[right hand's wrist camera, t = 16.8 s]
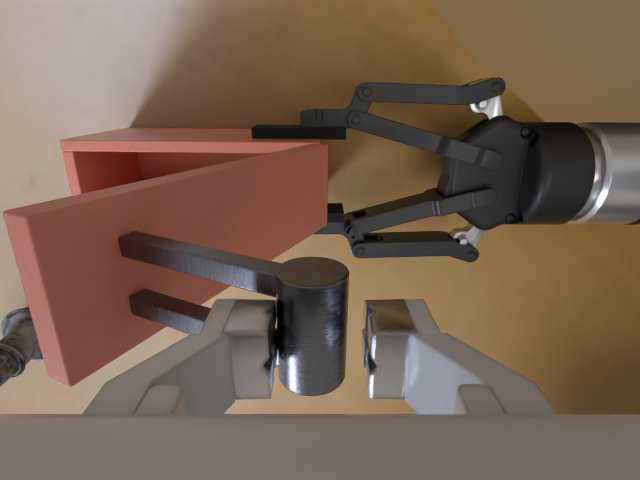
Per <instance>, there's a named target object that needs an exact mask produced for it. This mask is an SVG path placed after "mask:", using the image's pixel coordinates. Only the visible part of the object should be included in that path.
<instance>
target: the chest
mask: <svg viewBox="0 0 640 480" xmlns="http://www.w3.org/2000/svg"><path fill="white" fill-rule="evenodd" d="M313 143H315V144H321V139H252V129H228V128H131V127H129V128H124V129H118V130H113V131H107V132H102V133H96V134H91V135H85V136H79V137H74V138H68V139H63V140H60V144H61V149H62V151H63V157H64V162H65V167H66V171H67V176H68V181H69V185H70V190H71V195H72V196H75V195H79V194H84V193H88V192H93V191H98V190H102V189H107V188H111V187H116V186H121V185H125V184H130V183H134V182H139V181H143V180H148V179H153V178H157V177H162V176H166V175H171V174H176V173H180V172H185V171H189V170H194V169H198V168H203V167H208V166H212V165H217V164H221V163H226V162H231V161H235V160H240V159H244V158H249V157H253V156H258V155H263V154H267V153H272V152H276V151H281V150H286V149H290V148H295V147H299V146H304V145H308V144H313Z"/></svg>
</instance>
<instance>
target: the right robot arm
mask: <svg viewBox="0 0 640 480" xmlns="http://www.w3.org/2000/svg"><path fill="white" fill-rule="evenodd" d="M363 317H364V323H365V328H364V329H363V330H362V354H363V363H364V367H365V368H366V382H367V388H368V393H369V398H370V399H405V402H406V403H407V404H408V405H409V406H410V407H411V408H412V409H413V410H414V411H415V412H416V413H417V414H223V413H224V412H225V411H226V410H227V409H228V408H229V407H230V406H231V405H232V404H233V403H234V402H235V399H268V398H271V394H272V388H273V382H274V368H275V367H276V363H277V354H278V338H277V329H276V328H275V324H276V318H277V308H276V301H275V300H249V299H218V300H216V301H215V302H214V304H213V306H212V308H211V310H210V312H209V314H208V316H207V318H206V320H205V322H204V324H203V326H202V328H201V330H200V332H199V333H193V334H191V335H189V336H187V337H186V338H184V339H182V340H180V341H178V342H177V343H175V344H173V345H171V346H170V347H168V348H166V349H164V350H163V351H161V352H159V353H157V354H155V355H154V356H152V357H150V358H148V359H147V360H145V361H143V362H141V363H140V364H138V365H136V366H134V367H132V368H131V369H129V370H127V371H125V372H124V373H122V374H120V375H118V376H116V377H115V378H113V379H111V380H109V381H108V382H106V383H105V384H104V386H103V387H102V388H101V390H100V391H99V392H98V394H97V395H96V396H95V398H94V399H93V400H92V402H91V403H90V405H89V406H88V407H87V409H86V410H85V411H84V413H83V414H0V480H640V414H557V412H556V411H555V410H554V408H553V407H552V406H551V404H550V403H549V401H548V400H547V399H546V397H545V396H544V395H543V393H542V392H541V390H540V389H539V388H538V386H537V385H536V384H535V383H534V382H532V381H530V380H529V379H527V378H525V377H523V376H522V375H520V374H518V373H516V372H515V371H513V370H511V369H509V368H507V367H506V366H504V365H502V364H500V363H499V362H497V361H495V360H493V359H492V358H490V357H488V356H486V355H485V354H483V353H481V352H479V351H477V350H476V349H474V348H472V347H470V346H469V345H467V344H465V343H463V342H462V341H460V340H458V339H456V338H455V337H453V336H451V335H449V334H447V333H441V332H440V330H439V328H438V326H437V324H436V322H435V320H434V318H433V316H432V314H431V312H430V310H429V308H428V307H427V305H426V303H425V301H424V300H423V299H405V300H404V299H393V300H365V301H364V309H363Z"/></svg>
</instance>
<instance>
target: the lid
mask: <svg viewBox="0 0 640 480" xmlns="http://www.w3.org/2000/svg"><path fill="white" fill-rule="evenodd" d="M327 198H328V145H327V144H315V143H313V144H308V145H304V146H299V147H295V148H290V149H286V150H281V151H276V152H272V153H267V154H263V155H258V156H253V157H249V158H244V159H240V160H235V161H231V162H226V163H221V164H217V165H212V166H208V167H203V168H198V169H194V170H189V171H185V172H180V173H176V174H171V175H166V176H162V177H157V178H153V179H148V180H143V181H139V182H134V183H130V184H125V185H121V186H116V187H111V188H107V189H102V190H98V191H93V192H88V193H84V194H79V195H75V196H70V197H66V198H61V199H56V200H52V201H47V202H43V203H38V204H33V205H29V206H24V207H20V208H15V209H11V210H6V211H4V212H3V216H4V220H5V223H6V227H7V230H8V234H9V238H10V241H11V245H12V248H13V252H14V255H15V259H16V263H17V266H18V270H19V273H20V277H21V281H22V284H23V288H24V291H25V295H26V298H27V302H28V306H29V309H30V313H31V316H32V320H33V323H34V327H35V331H36V334H37V338H38V341H39V345H40V348H41V352H42V356H43V359H44V363H45V366H46V370H47V373H48V376H49V377H51V378H53V379H55V380H57V381H59V382H61V383H63V384H65V385H67V386H68V387H71V386H73V385H75V384H76V383H78V382H80V381H81V380H83V379H84V378H86V377H87V376H89V375H91V374H92V373H94V372H95V371H97V370H99V369H100V368H102V367H103V366H105V365H106V364H108V363H110V362H111V361H113V360H114V359H116V358H118V357H119V356H121V355H122V354H124V353H125V352H127V351H129V350H130V349H132V348H133V347H135V346H136V345H138V344H140V343H141V342H143V341H144V340H146V339H148V338H149V337H151V336H152V335H154V334H155V333H157V332H159V331H160V330H162V329H163V328H165V327H170V328H173V329H175V330H178V331H181V332H184V333H187V334H190V335H191V334H193V333H199V332H200V330H201V328H202V326H203V324H204V322H205V320H206V318H207V316H208V314H209V312H210V310H211V308H208V307H204V306H201V304H203V303H205V302H206V301H208V300H209V299H211V298H212V297H214V296H216V295H217V294H219V293H220V292H222V291H224V290H225V289H227V288H228V287H230V286H235V287H238V288H242V289H246V290H250V291H253V292H257V293H261V294H265V295H268V296H272V297H276V306H277V338H278V354H277V363H276V365H278V369H279V378H280V381H281V382H282V384H283V385H284V386H285V387H286V388H287V389H288V390H290V391H292V392H294V393H297V394H300V395H305V396H319V395H324V394H327V393H329V392H332V391H333V390H335V389H336V388H338V387H339V386H340V385H341V383H342V382H343V380H344V377H345V367H346V342H347V316H348V291H349V271H348V269H347V267H346V266H345V265H344V264H342V263H340V262H338V261H336V260H333V259H329V258H323V257H301V258H296V259H292V260H289V261H286V262H284V263H277V262H273V261H271V260H273V259H274V258H276V257H277V256H279V255H280V254H282V253H284V252H285V251H287V250H288V249H290V248H292V247H293V246H295V245H296V244H298V243H299V242H301V241H303V240H304V239H306V238H307V237H309V236H311V235H312V234H314V233H315V232H317V231H318V230H320V229H322V228H323V227H325V226H326V225H327Z"/></svg>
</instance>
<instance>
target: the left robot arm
mask: <svg viewBox="0 0 640 480" xmlns="http://www.w3.org/2000/svg"><path fill="white" fill-rule="evenodd" d="M504 90H505V82H504V80H503V79H502V78H486V79H480V80H477V81H474V82H471V83H468V84H465V85H462V86H451V85H425V84H399V83H373V82H365V83H361V84H359V85H358V86H357V87H356V89H355V93H354V95H353V98H352V101H351V103H350V105H349V106H348V107H346V108H345V109H308V110H305V111H303V112H301V125H256V126H254V127H252V128H251V129H252V139H346V128H353V129H356V130H360V131H363V132H367V133H370V134H373V135H377V136H380V137H384V138H387V139H390V140H394V141H397V142H401V143H404V144H407V145H411V146H414V147H418V148H421V149H424V150H428V151H431V152H435V153H438V154H440V155H441V161H440V162H441V168H442V173H441V176H440V178H439V181H438V187H436V188H433V189H429V190H426V191H425V192H424V193H421V194H417V195H413V196H409V197H406V198H402V199H398V200H394V201H390V202H387V203H383V204H379V205H375V206H371V207H368V208H364V209H360V210H356V211H352V212H349V213H346V214H344V211H343V206H342V203H327V225H326V226H325V227H323V228H322V229H320V230H318V231H317V232H315V233H314V234H342V235H344V236H346V238H347V239H348V241H349V244H350V246H351V249H352V252H353V255H354V256H355V257H357V258H380V257H417V256H451V257H454V258H457V259H460V260H464V261H467V262H474V261H475V260H477V258H478V256H479V252H478V250H477V249H476V246H477V244H478V242H479V240H480V238H481V236H482V234H483V232H484V230H490V229H493V228H494V227H496V226H499V225H502V224H563V223H567V224H572V225H595V224H628V225H635V224H640V123H593V122H587V123H579V124H574V123H570V122H516V121H514V120H512V119H511V118H509V117H507V116H504V115H503V112H502V105H501V99H500V95H501V94H502V93H503V92H504ZM371 102H395V103H422V104H448V105H466V107H467V109H468V110H469V111H470V112H475V113H481V114H482V115H483V117H484V119H483V120H481V121H480V122H478V123H477V124H476V125H474V126H473V127H471V128H470V129H468V130H467V131H465V132H464V133H462V134H461V135H459V136H458V137H456V138H455V139H452V138H449V137H446V136H442V135H439V134H436V133H432V132H429V131H425V130H422V129H419V128H415V127H412V126H409V125H405V124H402V123H399V122H395V121H392V120H389V119H385V118H382V117H379V116H375V115H372V114H369V113H367V112H368V109H369V107H370V104H371ZM452 213H457V214H459V215H460V216H461V217H463V218H464V219H465V220H467V221H468V222H469V224H468V225H467V226H466V227H464V228H455V229H452V230H451V232H450V233H448V232H442V231H419V232H383V233H368V232H372V231H376V230H380V229H384V228H388V227H392V226H396V225H400V224H403V223H407V222H411V221H415V220H419V219H423V218H427V217H431V216H444V215H448V214H452Z"/></svg>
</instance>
